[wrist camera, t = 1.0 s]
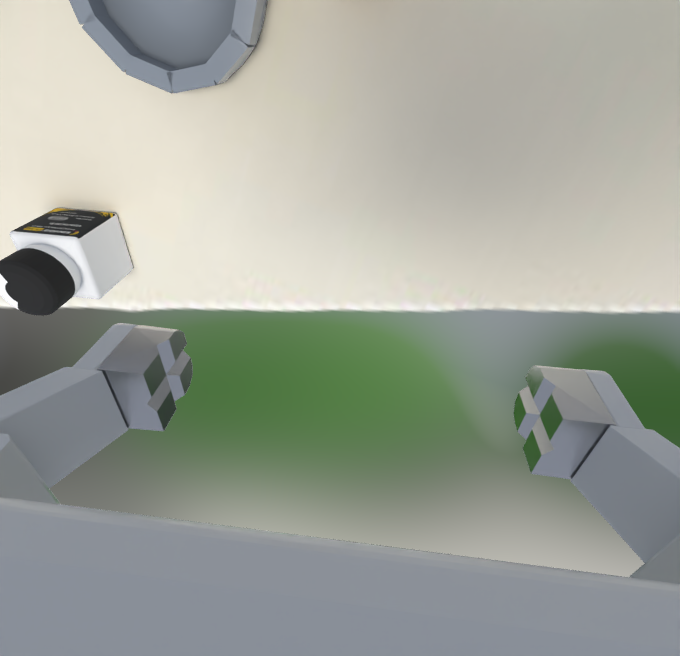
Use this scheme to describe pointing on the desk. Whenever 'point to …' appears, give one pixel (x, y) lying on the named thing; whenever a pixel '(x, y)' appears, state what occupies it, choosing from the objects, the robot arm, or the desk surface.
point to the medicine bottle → (63, 260)
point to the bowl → (174, 37)
